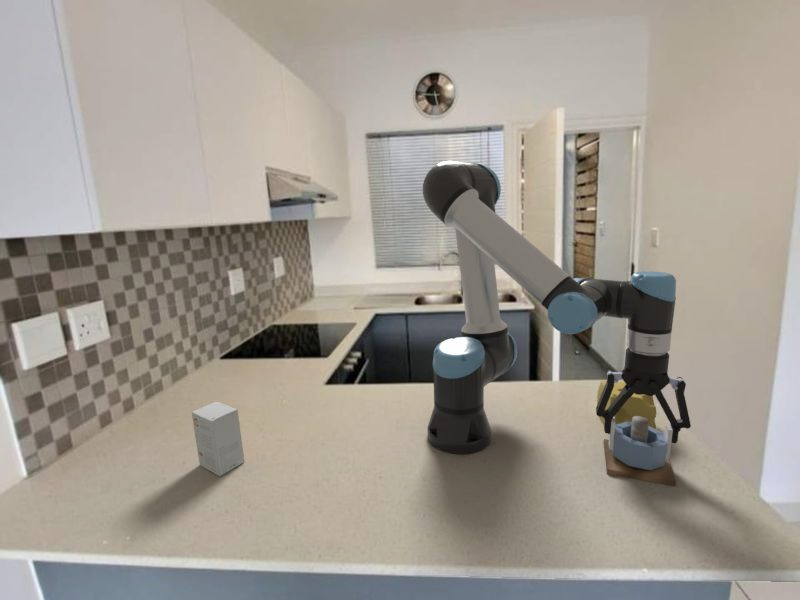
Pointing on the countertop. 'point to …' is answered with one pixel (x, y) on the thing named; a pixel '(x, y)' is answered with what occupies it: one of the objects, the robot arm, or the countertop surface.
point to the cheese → (630, 405)
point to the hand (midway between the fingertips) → (637, 451)
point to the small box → (218, 437)
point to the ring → (639, 448)
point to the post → (621, 469)
